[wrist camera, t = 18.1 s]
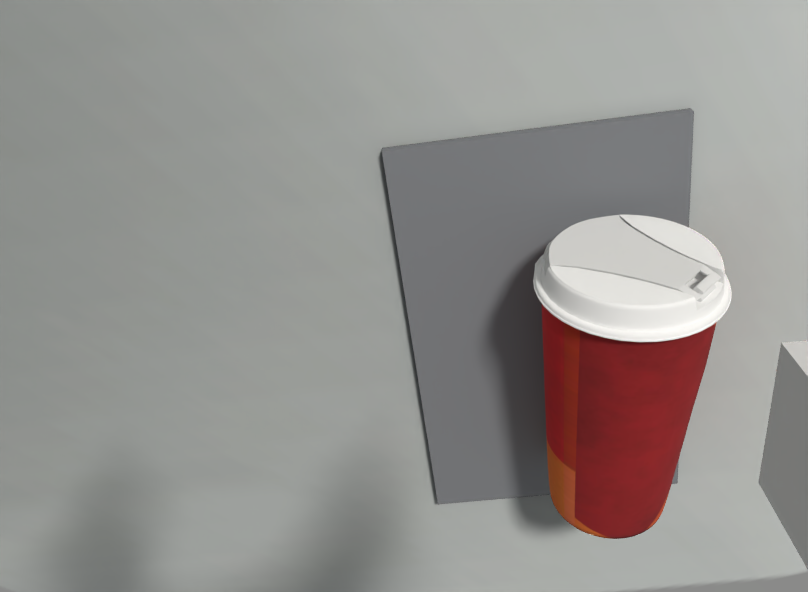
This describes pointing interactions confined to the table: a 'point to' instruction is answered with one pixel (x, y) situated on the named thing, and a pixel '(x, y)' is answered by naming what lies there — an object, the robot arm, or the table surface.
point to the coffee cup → (623, 362)
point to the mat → (510, 274)
